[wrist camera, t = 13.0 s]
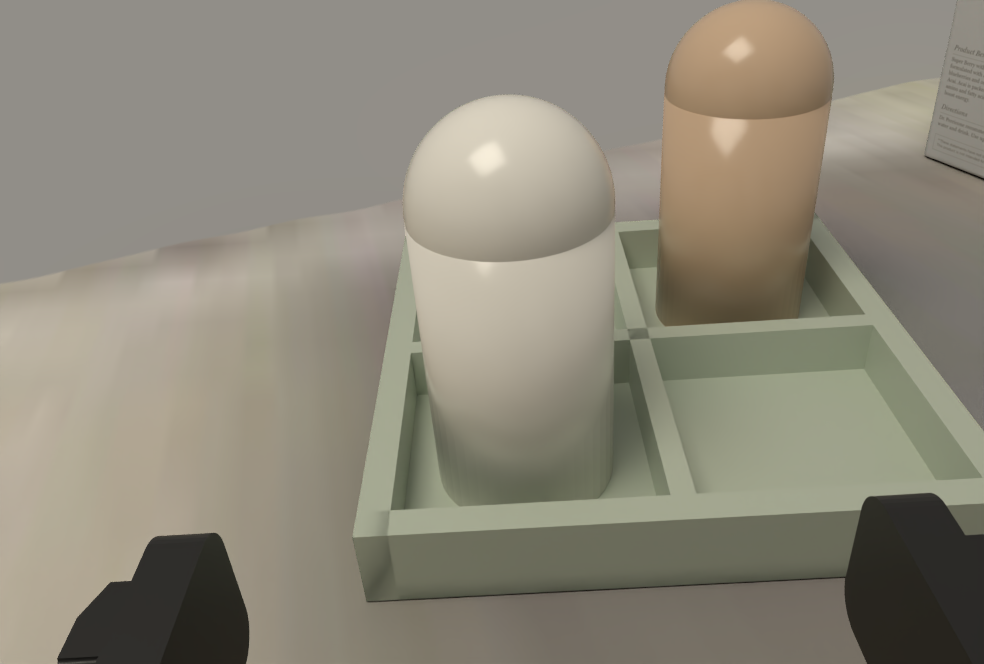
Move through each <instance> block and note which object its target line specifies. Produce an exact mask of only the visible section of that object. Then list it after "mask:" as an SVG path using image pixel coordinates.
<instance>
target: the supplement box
mask: <svg viewBox="0 0 984 664" xmlns="http://www.w3.org/2000/svg"><path fill="white" fill-rule="evenodd" d="M925 156H927V157H930V158H932V159H935V160H938V161H940V162H943V163H945V164H948V165H950V166H953V167H956V168H958V169H961V170H963V171H966V172H968V173H971V174H974V175H976V176H979V177H981V178H984V0H957V4H956V8H955V13H954V18H953V23H952V28H951V32H950V36H949V41H948V47H947V51H946V55H945V60H944V65H943V69H942V74H941V79H940V84H939V88H938V93H937V98H936V103H935V108H934V112H933V117H932V122H931V126H930V131H929V135H928V140H927V144H926V148H925Z"/></svg>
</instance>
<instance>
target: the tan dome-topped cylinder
mask: <svg viewBox="0 0 984 664" xmlns="http://www.w3.org/2000/svg"><path fill="white" fill-rule="evenodd" d="M833 83H834V72H833V62H832V57H831V54H830V51H829V48H828V45H827V43H826V41H825V39H824V37H823V36H822V34H821V32H820V31H819V30H818V28H817V27H816V26H815V25H814V24H813V23H812V22H811V21H810V20H809V19H808V18H807V17H806V16H805V15H803V14H802V13H800V12H799V11H797V10H796V9H794V8H792V7H790V6H788V5H785V4H783V3H779V2H775V1H771V0H741V1H737V2H733V3H729V4H726V5H724V6H722V7H719V8H717V9H715V10H713V11H711V12H710V13H708V14H707V15H705V16H704V17H702V18H701V19H700V20H698V21H697V22H696V23H695V24H694V25H693V26H692V27H691V28H690V29H689V30H688V31H687V32H686V33H685V35H684V36H683V37H682V39H681V40H680V42H679V44H678V45H677V47H676V49H675V51H674V53H673V54H672V57H671V60H670V62H669V65H668V69H667V73H666V80H665V93H664V116H663V138H662V161H661V185H660V208H659V231H658V254H657V278H656V301H655V311H656V315H657V317H658V319H659V320H660V322H661V323H662V324H663V325H664V326H665V327H667V326H683V325H700V324H716V323H733V322H749V321H765V320H782V319H798V317H799V311H800V304H801V297H802V291H803V284H804V278H805V271H806V264H807V258H808V251H809V245H810V238H811V231H812V225H813V218H814V212H815V205H816V199H817V192H818V185H819V179H820V172H821V166H822V159H823V152H824V146H825V139H826V133H827V126H828V119H829V113H830V106H831V100H832V92H833Z"/></svg>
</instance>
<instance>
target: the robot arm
mask: <svg viewBox="0 0 984 664" xmlns="http://www.w3.org/2000/svg"><path fill="white" fill-rule="evenodd" d="M845 602H846V609H847V614H848V618H849V621H850V625H851V628H852V630H853V633H854V635H855V637H856V640H857V642H858V644H859V646H860V649H861V651H862V653H863V655H864V658H865V660H866V662H867V664H984V534H978V535H965V534H964V532H963V531H962V529H961V527H960V526H959V524H958V523H957V521H956V520H955V518H954V517H953V515H952V514H951V512H950V511H949V509H948V507H947V506H946V504H945V503H944V502H943V500H942V499H941V498H940V497H939V496H937V495H936V494H934V493H918V494H901V495H884V496H869V497H867V498H866V499H865V501H864V503H863V505H862V508H861V512H860V517H859V521H858V525H857V530H856V534H855V538H854V543H853V547H852V552H851V556H850V560H849V565H848V569H847V573H846V578H845ZM248 648H249V621H248V615H247V610H246V607H245V604H244V601H243V598H242V595H241V592H240V590H239V587H238V584H237V581H236V578H235V575H234V572H233V569H232V566H231V563H230V560H229V557H228V555H227V552H226V549H225V546H224V543H223V541H222V539H221V537H220V536H219V535H218V534H217V533H205V534H188V535H171V536H157V537H154V538H153V539H152V540H151V541H150V542H149V544H148V545H147V547H146V549H145V551H144V553H143V556H142V558H141V560H140V563H139V565H138V567H137V569H136V572H135V574H134V576H133V578H132V581H123V582H110V583H109V584H108V585H107V586H106V588H105V589H104V590H103V591H102V592H101V593H100V594H99V595H98V596H97V597H96V598H95V599H94V600H93V601H92V602H91V604H90V605H89V606H88V607H87V608H86V609H85V610H84V611H83V612H82V613H81V614H80V615H79V616H78V617H77V619H76V621H75V623H74V625H73V627H72V629H71V631H70V633H69V635H68V637H67V640H66V642H65V644H64V646H63V648H62V650H61V652H60V654H59V656H58V658H57V659H58V664H246V661H247V656H248Z"/></svg>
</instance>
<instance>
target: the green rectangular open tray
mask: <svg viewBox="0 0 984 664" xmlns="http://www.w3.org/2000/svg"><path fill="white" fill-rule="evenodd" d="M658 231H659V220H645V221H630V222H615V294H614V411H613V470H612V475H611V478H610V481H609V483H608V485H607V487H606V489H605V490H604V491H603V493H602V494H601V495H600V496H599V497H598V498H597V499H589V500H571V501H553V502H535V503H516V504H498V505H480V506H462V507H459V506H458V505H457V504H455V502H454V501H453V500H452V499H451V498H450V497H449V496H448V494H447V493H446V491H445V490H444V487H443V485H442V483H441V478H440V473H439V466H438V459H437V452H436V445H435V438H434V431H433V424H432V417H431V410H430V403H429V396H428V388H427V381H426V374H425V367H424V360H423V353H422V346H421V339H420V332H419V325H418V318H417V311H416V304H415V297H414V289H413V282H412V275H411V268H410V261H409V254H408V247H407V240H406V236H405V241H404V246H403V252H402V258H401V264H400V269H399V275H398V281H397V286H396V292H395V298H394V303H393V309H392V315H391V321H390V326H389V332H388V338H387V343H386V349H385V355H384V360H383V366H382V372H381V377H380V383H379V389H378V395H377V400H376V406H375V412H374V417H373V423H372V429H371V434H370V440H369V446H368V452H367V457H366V463H365V469H364V474H363V480H362V486H361V491H360V497H359V503H358V509H357V514H356V520H355V526H354V531H353V537H352V538H353V542H354V547H355V551H356V556H357V560H358V565H359V569H360V574H361V578H362V583H363V587H364V592H365V596H366V601H384V600H403V599H423V598H442V597H462V596H481V595H500V594H520V593H539V592H558V591H578V590H597V589H617V588H636V587H655V586H675V585H694V584H713V583H733V582H752V581H771V580H791V579H810V578H830V577H846V573H847V569H848V565H849V560H850V556H851V552H852V547H853V543H854V538H855V534H856V530H857V525H858V521H859V517H860V512H861V508H862V505H863V503H864V501H865V499H866V498H867V497H869V496H884V495H901V494H918V493H934V494H936V495H937V496H939V497H940V498H941V499H942V500H943V502H944V503H945V504H946V506H947V507H948V509H949V511H950V512H951V514H952V515H953V517H954V518H955V520H956V521H957V523H958V524H959V526H960V527H961V529H962V531H963V532H964V534H965V535H978V534H984V431H983V430H982V429H981V427H980V426H979V425H978V423H977V422H976V421H975V419H974V418H973V417H972V416H971V414H970V413H969V412H968V410H967V409H966V408H965V407H964V405H963V404H962V403H961V401H960V400H959V399H958V397H957V396H956V395H955V394H954V392H953V391H952V390H951V388H950V387H949V386H948V384H947V383H946V382H945V381H944V379H943V378H942V377H941V375H940V374H939V373H938V372H937V370H936V369H935V368H934V366H933V365H932V364H931V362H930V361H929V360H928V359H927V357H926V356H925V355H924V353H923V352H922V351H921V350H920V348H919V347H918V346H917V344H916V343H915V342H914V340H913V339H912V338H911V337H910V335H909V334H908V333H907V331H906V330H905V329H904V327H903V326H902V325H901V324H900V322H899V321H898V320H897V318H896V317H895V316H894V315H893V313H892V312H891V311H890V309H889V308H888V307H887V305H886V304H885V303H884V302H883V300H882V299H881V298H880V296H879V295H878V294H877V292H876V291H875V290H874V289H873V287H872V286H871V285H870V283H869V282H868V281H867V280H866V278H865V277H864V276H863V274H862V273H861V272H860V270H859V269H858V268H857V267H856V265H855V264H854V263H853V261H852V260H851V259H850V257H849V256H848V255H847V254H846V252H845V251H844V250H843V248H842V247H841V246H840V245H839V243H838V242H837V241H836V239H835V238H834V237H833V235H832V234H831V233H830V232H829V230H828V229H827V228H826V226H825V225H824V224H823V222H822V221H821V220H820V219H819V217H818V216H817V215H816V213H815V212H814V218H813V225H812V231H811V238H810V245H809V251H808V258H807V264H806V271H805V278H804V284H803V291H802V297H801V304H800V311H799V317H798V319H782V320H765V321H749V322H733V323H716V324H700V325H683V326H667V327H665V326H664V325H663V324H662V323H661V322H660V320H659V319H658V317H657V315H656V311H655V301H656V278H657V254H658Z"/></svg>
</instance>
